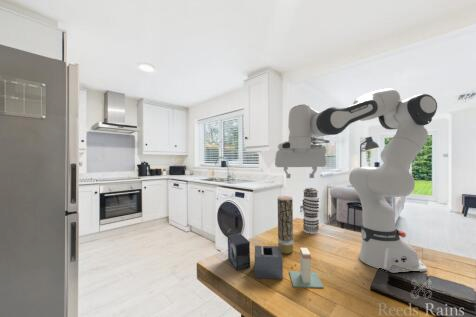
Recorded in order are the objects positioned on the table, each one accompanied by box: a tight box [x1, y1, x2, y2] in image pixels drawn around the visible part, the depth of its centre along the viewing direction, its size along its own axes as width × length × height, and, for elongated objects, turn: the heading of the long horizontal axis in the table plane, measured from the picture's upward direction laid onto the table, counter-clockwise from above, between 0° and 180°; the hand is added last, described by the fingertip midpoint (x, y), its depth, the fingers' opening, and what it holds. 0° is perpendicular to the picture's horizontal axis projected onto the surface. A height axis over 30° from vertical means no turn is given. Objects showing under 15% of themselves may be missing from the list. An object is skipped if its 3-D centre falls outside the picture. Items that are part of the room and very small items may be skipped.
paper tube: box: [277, 195, 294, 255], centre depth 96 cm, size 7×7×25 cm
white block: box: [299, 247, 312, 283], centre depth 74 cm, size 3×5×10 cm, turn 174°
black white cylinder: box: [302, 187, 320, 235], centre depth 121 cm, size 9×9×25 cm
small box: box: [227, 232, 251, 272], centre depth 87 cm, size 11×6×10 cm, turn 22°
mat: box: [288, 270, 324, 289], centre depth 74 cm, size 10×9×1 cm
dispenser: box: [254, 245, 284, 280], centre depth 79 cm, size 10×9×8 cm
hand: (300, 178), depth 86 cm, fingers open, 8 cm apart
